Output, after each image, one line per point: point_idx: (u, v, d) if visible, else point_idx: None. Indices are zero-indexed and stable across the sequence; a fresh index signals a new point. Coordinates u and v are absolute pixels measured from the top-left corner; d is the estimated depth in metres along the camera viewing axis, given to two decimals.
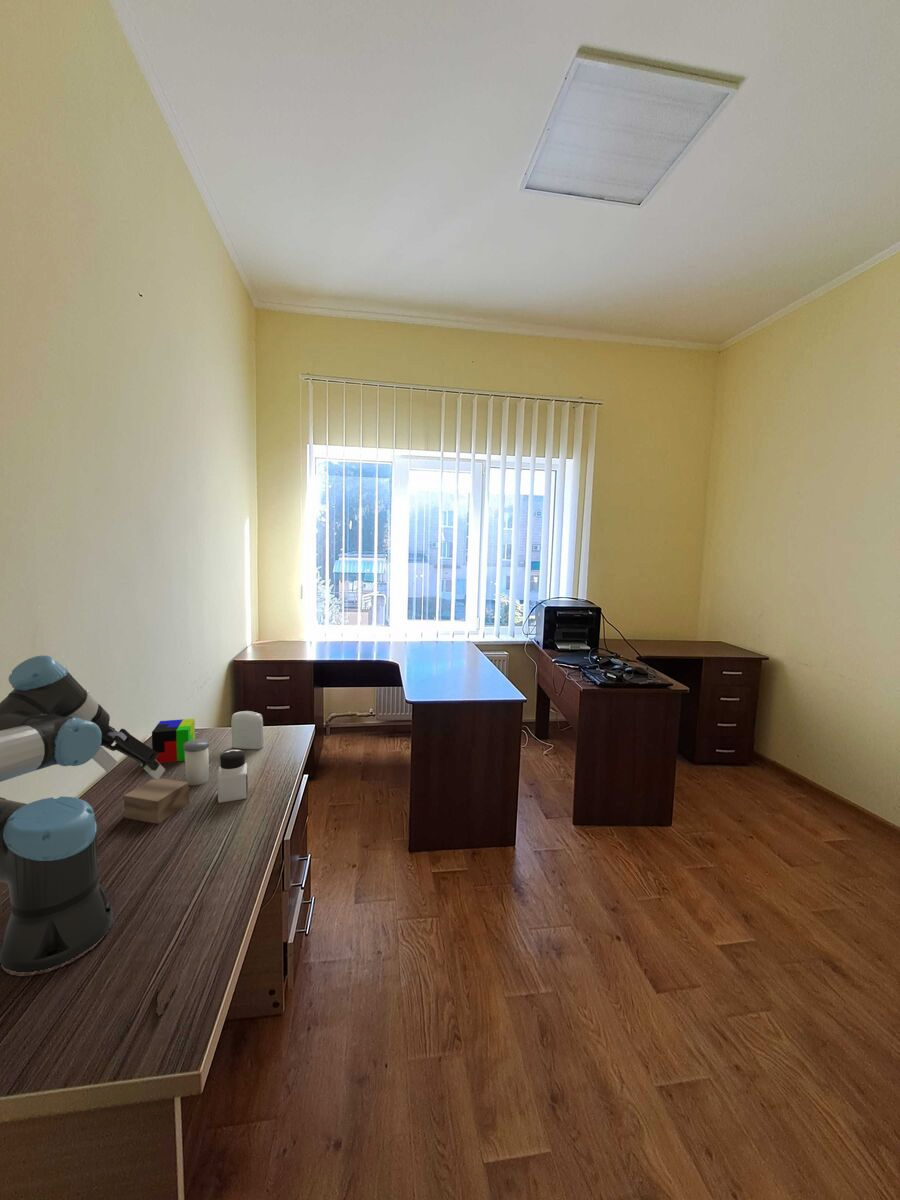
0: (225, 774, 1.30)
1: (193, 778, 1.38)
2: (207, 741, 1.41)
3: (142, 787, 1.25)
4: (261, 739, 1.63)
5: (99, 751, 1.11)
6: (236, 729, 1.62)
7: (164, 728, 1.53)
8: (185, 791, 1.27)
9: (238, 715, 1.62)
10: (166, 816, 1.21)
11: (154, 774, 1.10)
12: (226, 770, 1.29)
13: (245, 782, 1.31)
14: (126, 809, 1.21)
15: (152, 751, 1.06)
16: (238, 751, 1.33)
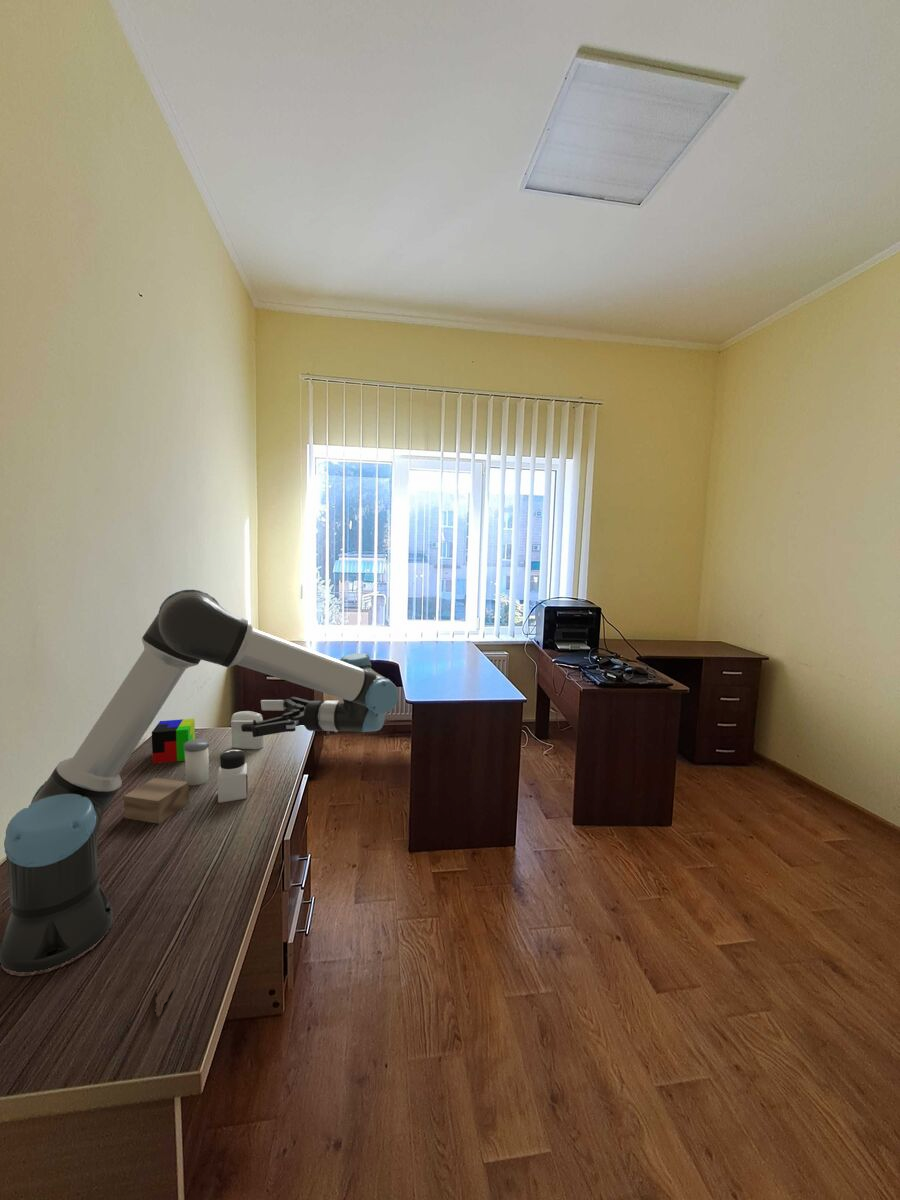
0: (225, 774, 1.30)
1: (193, 777, 1.38)
2: (207, 741, 1.41)
3: (142, 787, 1.25)
4: (261, 739, 1.63)
5: (281, 706, 1.33)
6: None
7: (164, 728, 1.53)
8: (185, 791, 1.27)
9: (238, 715, 1.62)
10: (167, 816, 1.21)
11: (237, 722, 1.20)
12: (226, 770, 1.29)
13: (245, 782, 1.31)
14: (126, 809, 1.21)
15: (259, 734, 1.17)
16: (238, 751, 1.33)
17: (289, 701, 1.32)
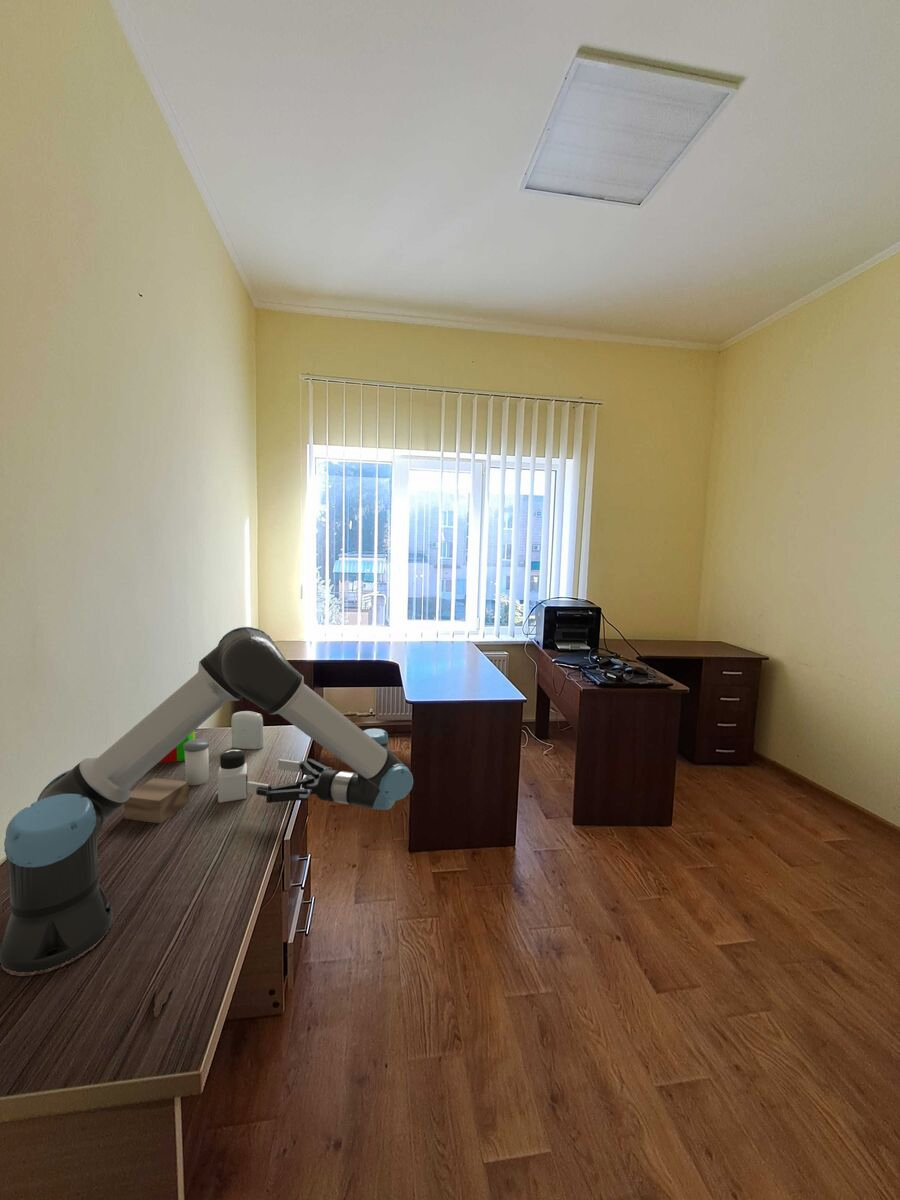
0: (225, 774, 1.30)
1: (193, 777, 1.38)
2: (207, 741, 1.41)
3: (141, 787, 1.25)
4: (261, 739, 1.63)
5: (297, 768, 1.35)
6: (236, 729, 1.62)
7: None
8: (185, 790, 1.27)
9: (238, 715, 1.62)
10: (168, 815, 1.21)
11: (253, 784, 1.23)
12: (226, 770, 1.29)
13: (245, 782, 1.31)
14: (126, 810, 1.20)
15: (273, 801, 1.19)
16: (238, 751, 1.33)
17: (305, 764, 1.34)
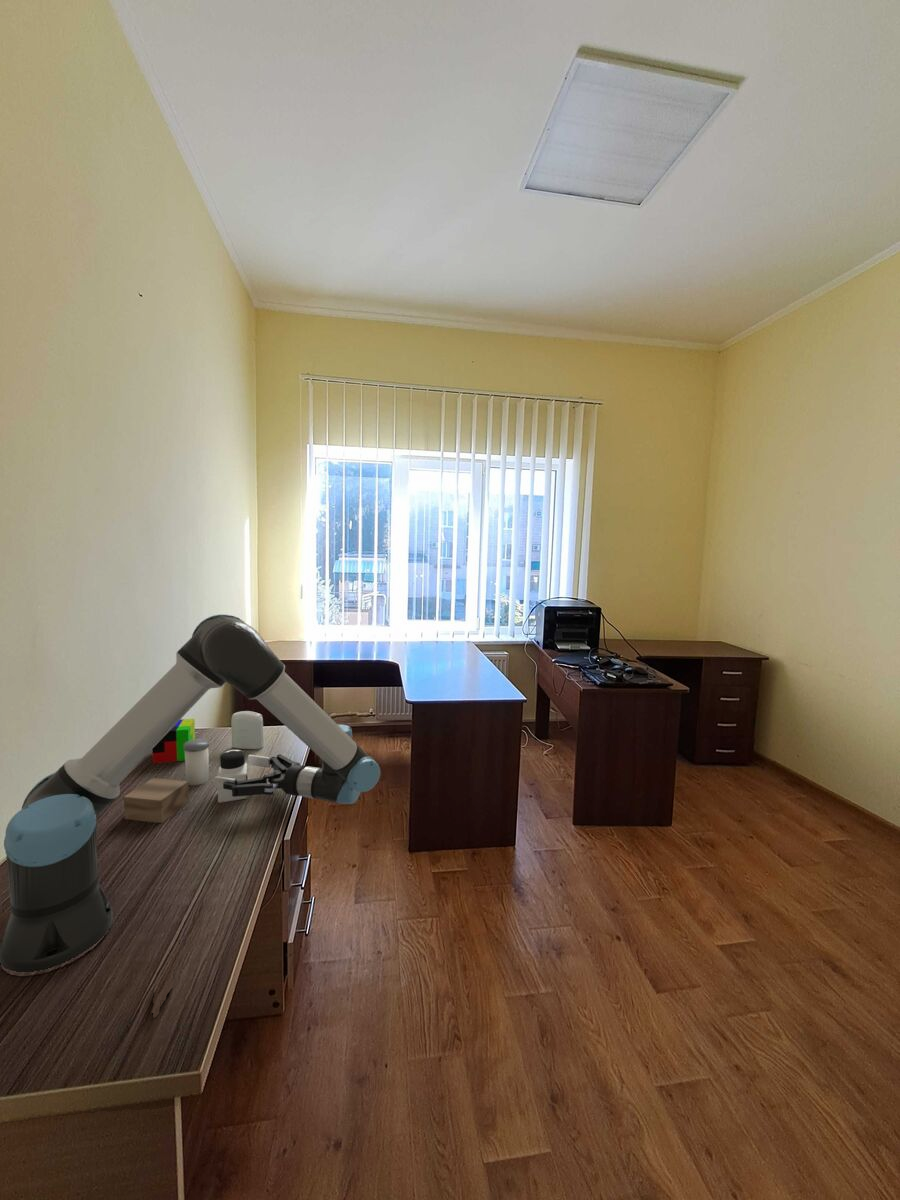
0: (225, 774, 1.30)
1: (193, 778, 1.38)
2: (207, 741, 1.41)
3: (141, 787, 1.24)
4: (261, 739, 1.63)
5: (267, 764, 1.38)
6: (236, 729, 1.62)
7: None
8: (185, 790, 1.28)
9: (238, 715, 1.62)
10: (168, 815, 1.22)
11: (220, 779, 1.25)
12: (226, 770, 1.29)
13: None
14: (126, 810, 1.20)
15: (238, 794, 1.22)
16: (238, 751, 1.33)
17: (275, 759, 1.37)
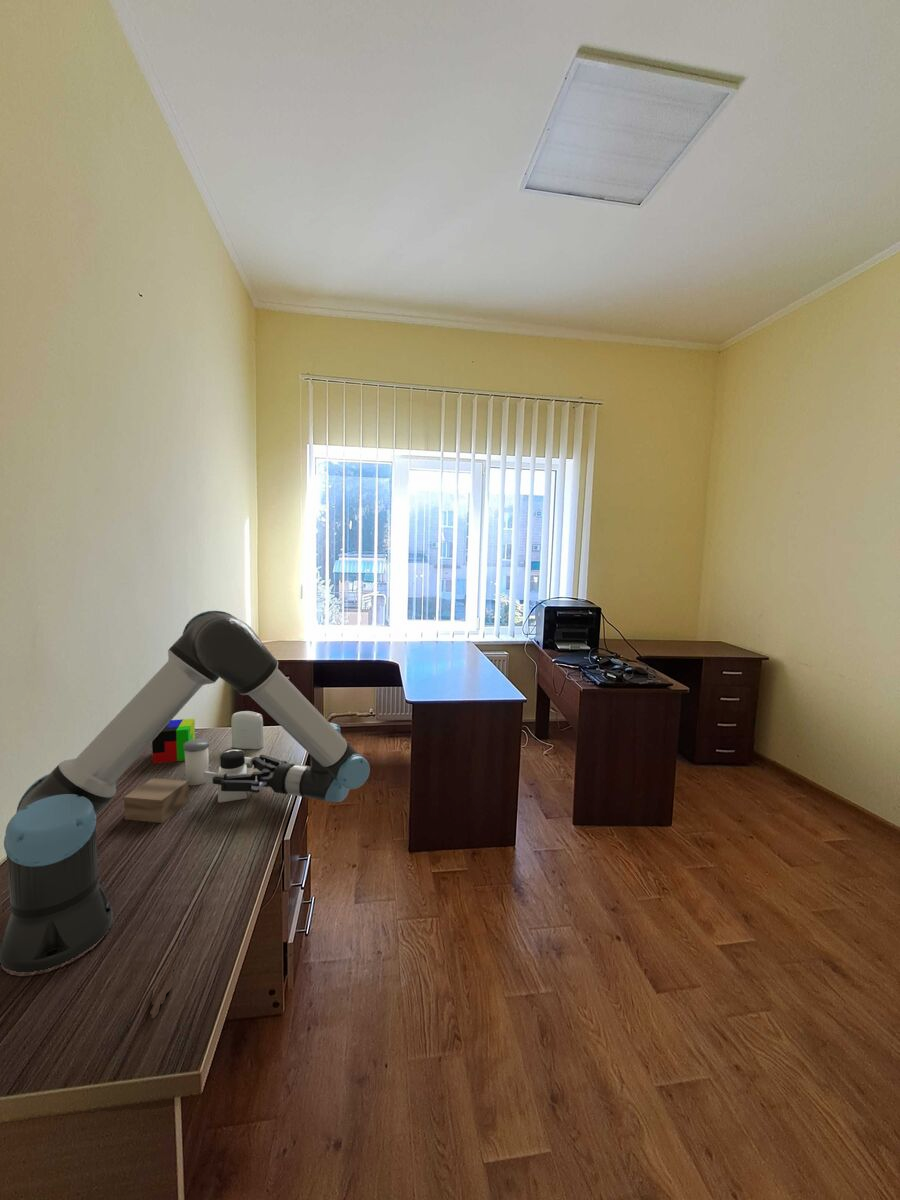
0: None
1: (193, 778, 1.38)
2: (207, 741, 1.41)
3: (141, 788, 1.24)
4: (261, 739, 1.63)
5: (249, 764, 1.37)
6: (236, 729, 1.62)
7: (164, 728, 1.53)
8: (185, 790, 1.28)
9: (238, 715, 1.62)
10: (169, 815, 1.22)
11: (210, 774, 1.28)
12: (226, 770, 1.29)
13: None
14: (126, 810, 1.20)
15: (227, 789, 1.24)
16: (238, 751, 1.33)
17: (258, 759, 1.36)
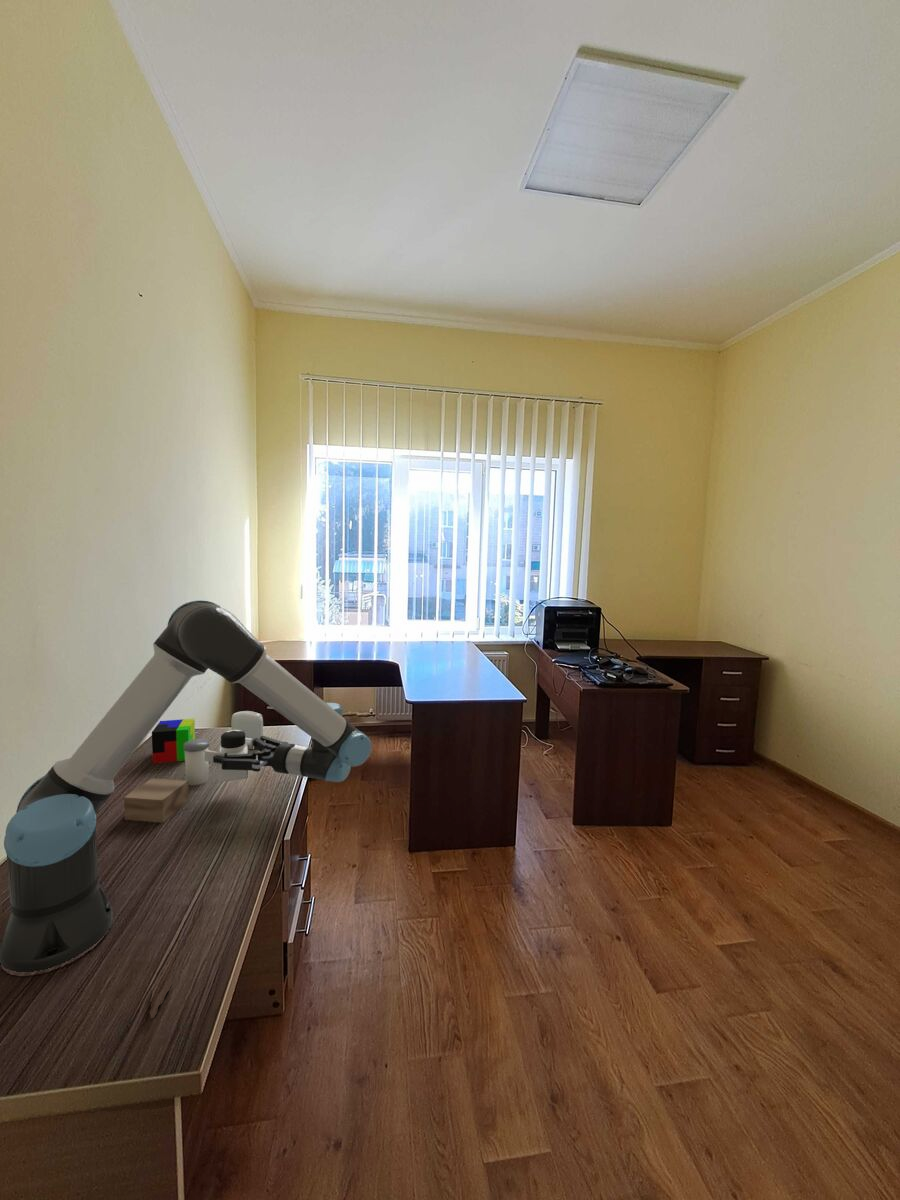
0: None
1: (193, 778, 1.38)
2: (207, 741, 1.41)
3: (141, 788, 1.24)
4: None
5: (250, 745, 1.36)
6: (236, 729, 1.62)
7: (164, 728, 1.53)
8: (185, 789, 1.28)
9: (238, 715, 1.62)
10: (169, 815, 1.22)
11: (210, 753, 1.27)
12: (227, 749, 1.29)
13: None
14: (127, 810, 1.20)
15: (227, 768, 1.23)
16: (239, 731, 1.33)
17: (259, 740, 1.36)
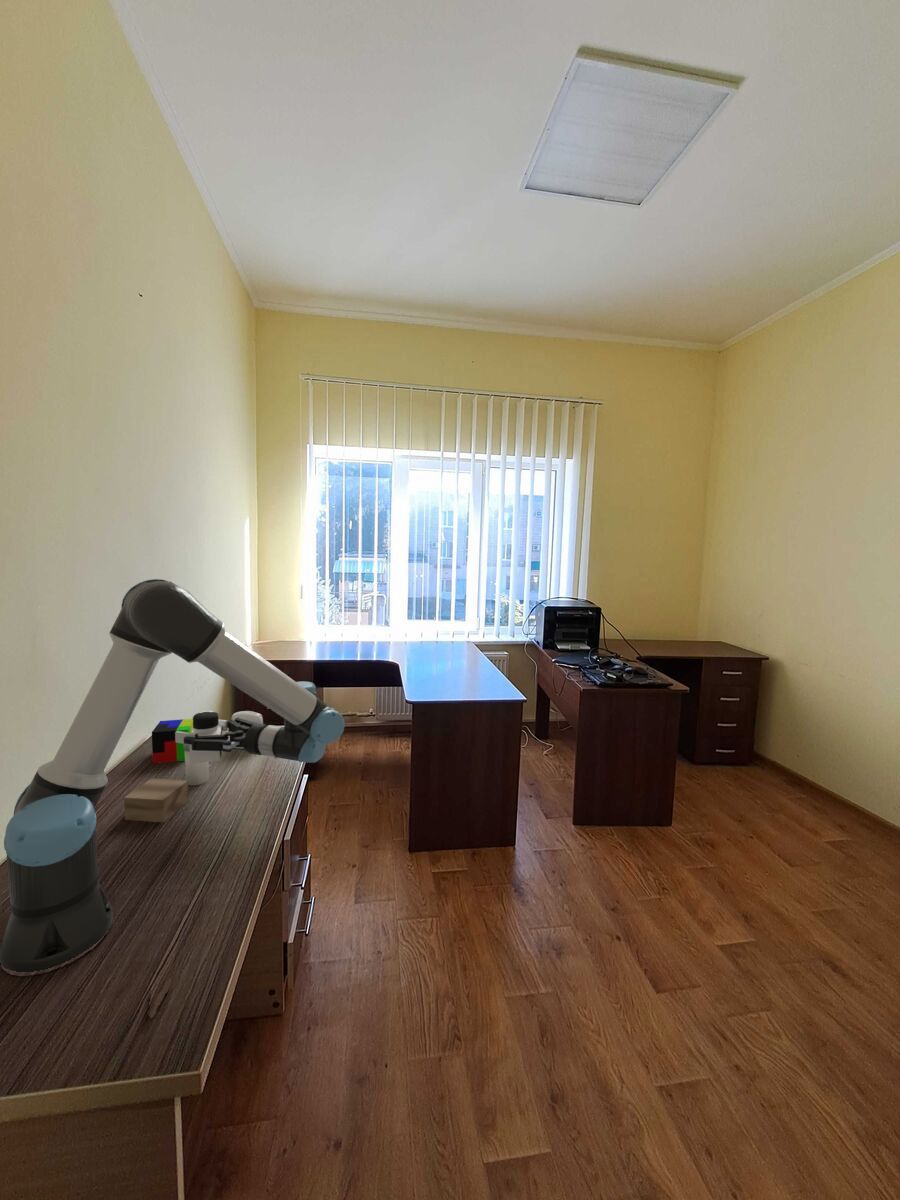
0: None
1: (193, 778, 1.38)
2: None
3: (140, 788, 1.24)
4: None
5: (224, 727, 1.33)
6: None
7: (164, 728, 1.53)
8: (185, 789, 1.28)
9: (238, 715, 1.62)
10: (170, 814, 1.22)
11: (181, 734, 1.24)
12: (198, 730, 1.25)
13: None
14: (127, 811, 1.20)
15: (197, 749, 1.20)
16: (212, 712, 1.29)
17: (233, 722, 1.32)
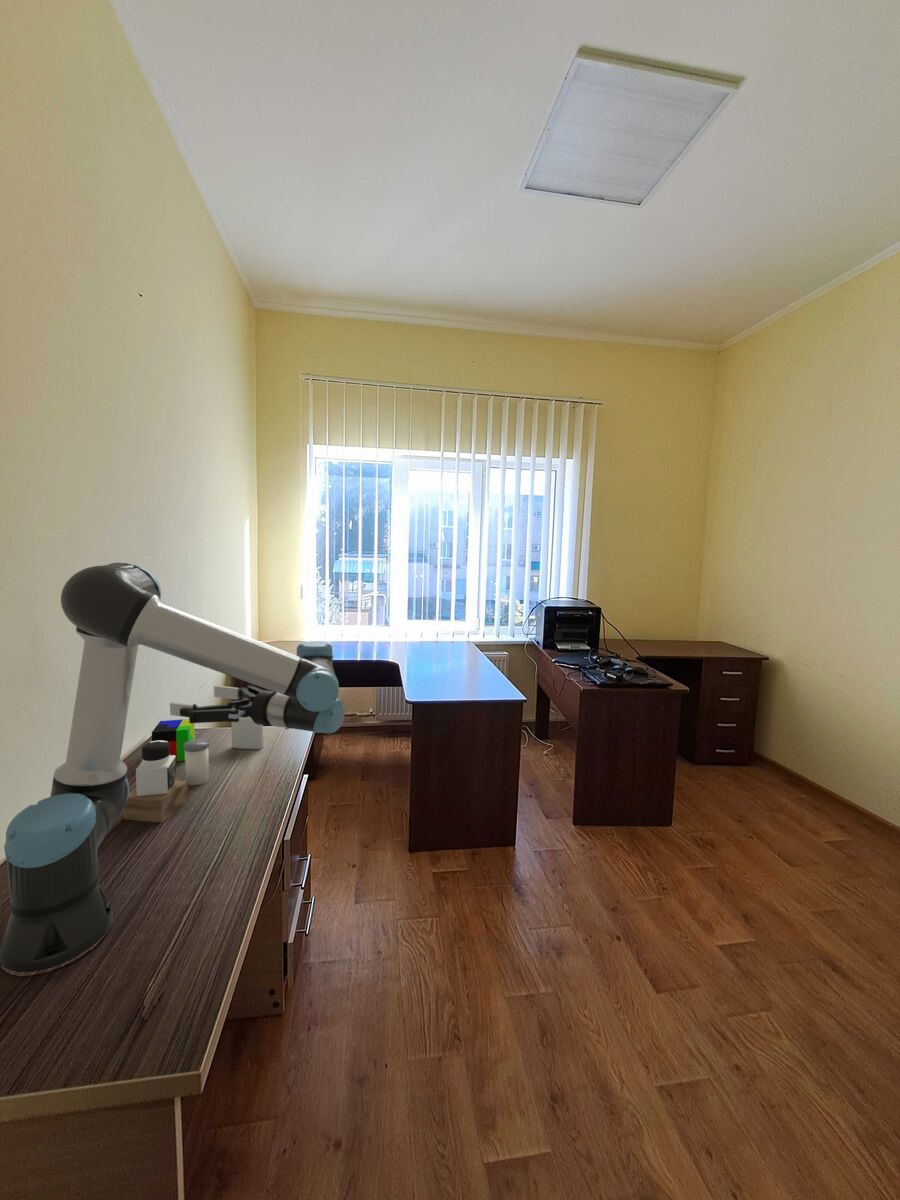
0: (145, 766, 1.21)
1: (193, 778, 1.38)
2: (207, 741, 1.41)
3: None
4: (261, 739, 1.63)
5: (235, 695, 1.19)
6: (236, 729, 1.62)
7: (164, 728, 1.53)
8: (184, 790, 1.28)
9: None
10: (168, 815, 1.22)
11: (177, 705, 1.06)
12: (146, 762, 1.20)
13: (166, 776, 1.21)
14: (126, 810, 1.20)
15: (197, 721, 1.02)
16: (163, 742, 1.24)
17: (244, 690, 1.18)
